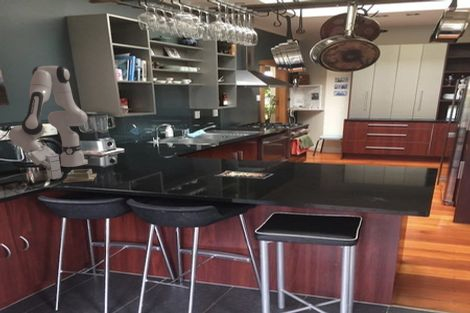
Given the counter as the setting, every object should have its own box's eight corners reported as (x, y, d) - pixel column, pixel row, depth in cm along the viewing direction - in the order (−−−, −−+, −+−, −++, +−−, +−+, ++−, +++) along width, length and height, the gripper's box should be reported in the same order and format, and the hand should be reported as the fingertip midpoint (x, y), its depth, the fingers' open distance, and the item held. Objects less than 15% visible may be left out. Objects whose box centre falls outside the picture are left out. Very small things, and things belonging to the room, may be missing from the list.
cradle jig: (69, 176, 204) (68, 169, 203) (96, 175, 207) (96, 168, 206) (63, 182, 191) (62, 175, 190) (92, 180, 194) (91, 173, 193)
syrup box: (62, 177, 199) (59, 153, 196) (52, 179, 194) (49, 155, 191) (56, 176, 202) (53, 152, 199) (46, 178, 197) (43, 154, 194)
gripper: (28, 148, 183) (49, 165, 186) (46, 142, 203) (64, 157, 206) (21, 156, 183) (41, 173, 186) (39, 149, 203) (57, 164, 206)
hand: (53, 164), depth 196 cm, fingers closed on syrup box, 8 cm apart
